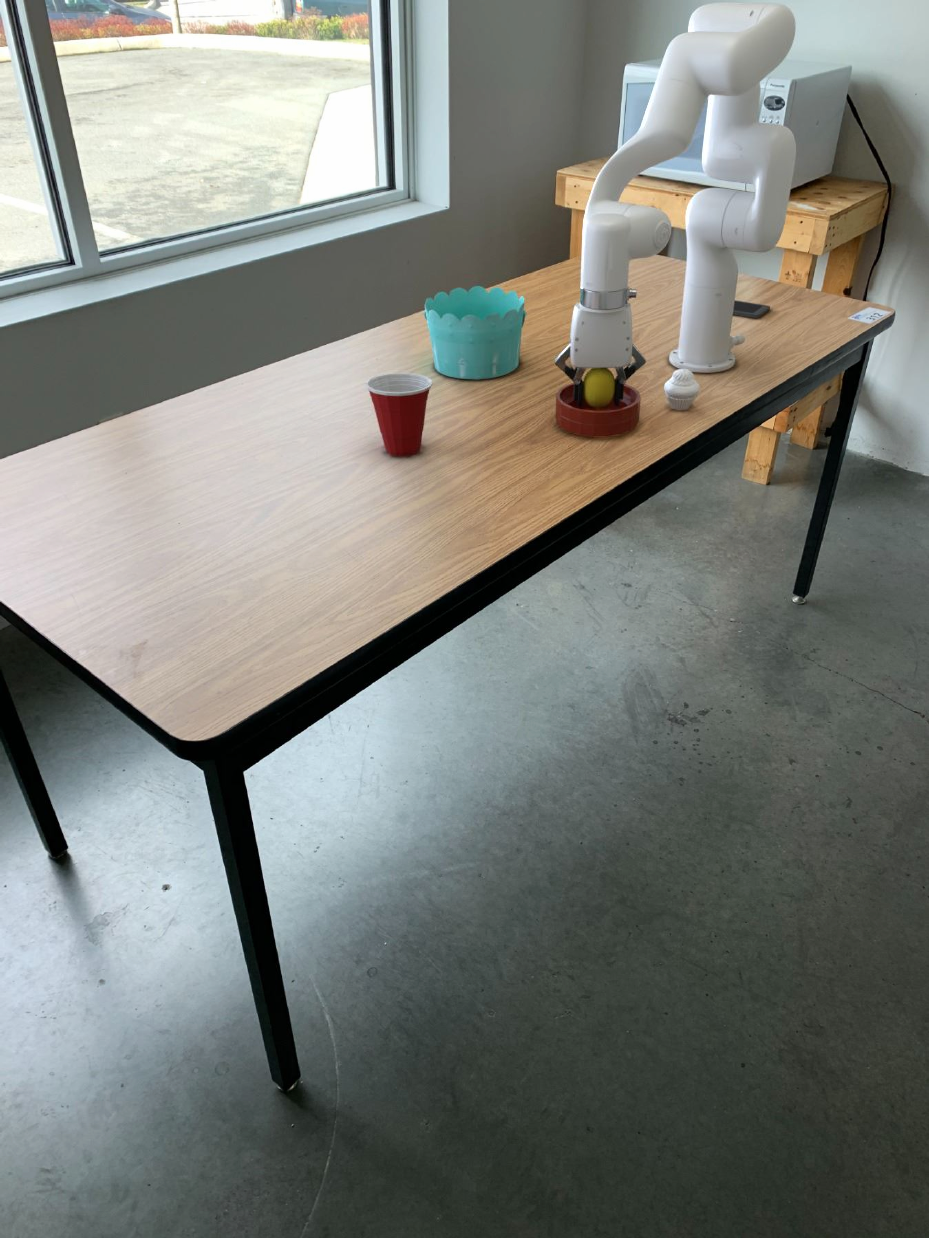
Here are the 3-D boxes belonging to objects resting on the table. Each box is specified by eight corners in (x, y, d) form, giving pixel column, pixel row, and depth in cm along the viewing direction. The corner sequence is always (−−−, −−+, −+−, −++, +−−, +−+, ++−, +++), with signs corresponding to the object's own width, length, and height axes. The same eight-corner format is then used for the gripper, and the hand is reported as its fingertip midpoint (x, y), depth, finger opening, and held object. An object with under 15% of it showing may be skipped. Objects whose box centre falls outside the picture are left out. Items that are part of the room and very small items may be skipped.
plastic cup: (445, 439, 164) (442, 371, 158) (422, 467, 156) (418, 396, 149) (386, 432, 168) (380, 365, 161) (360, 459, 159) (353, 389, 152)
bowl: (600, 400, 176) (601, 373, 173) (655, 425, 167) (657, 397, 164) (539, 420, 170) (539, 393, 167) (592, 447, 160) (594, 419, 157)
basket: (413, 375, 189) (409, 309, 182) (450, 344, 203) (447, 282, 195) (505, 386, 183) (505, 318, 175) (536, 354, 196) (537, 289, 189)
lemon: (612, 417, 164) (615, 371, 159) (579, 415, 165) (581, 370, 160) (615, 404, 168) (618, 359, 164) (583, 402, 169) (585, 358, 165)
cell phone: (758, 318, 210) (758, 315, 209) (698, 308, 216) (698, 305, 216) (770, 309, 214) (771, 306, 214) (711, 300, 221) (712, 296, 221)
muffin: (704, 405, 173) (708, 367, 169) (685, 416, 169) (689, 378, 165) (674, 397, 176) (678, 360, 172) (655, 407, 173) (658, 369, 169)
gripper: (654, 289, 158) (645, 394, 169) (549, 291, 159) (546, 395, 170) (660, 303, 152) (650, 411, 163) (550, 305, 153) (548, 413, 164)
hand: (597, 402), depth 166 cm, fingers closed on lemon, 5 cm apart
